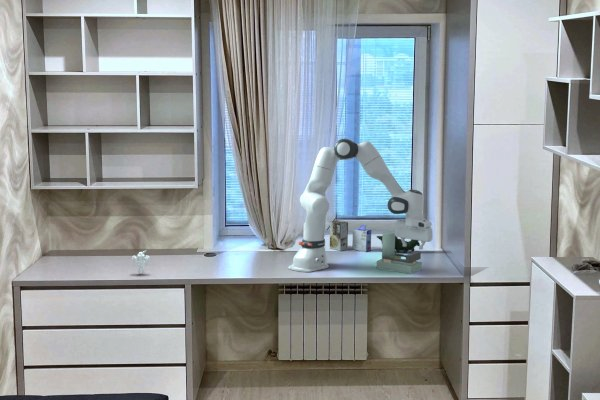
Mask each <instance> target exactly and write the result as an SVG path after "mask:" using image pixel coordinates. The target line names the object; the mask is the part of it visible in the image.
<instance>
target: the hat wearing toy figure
mask: <svg viewBox="0 0 600 400" xmlns="http://www.w3.org/2000/svg"><path fill="white" fill-rule="evenodd" d="M146 252H147V249H145V250H142V251H140V252H138V253H137V255H132V257H131V261H134V262H133V264H132V267H133V268H134V267H135V266H136V264H137V273H136V274H137V275H141V274H142V275H145V274H146V270H145V267H146V268H149V266H150V264H149V262H148V261H150V256H149V255H145V253H146Z"/></svg>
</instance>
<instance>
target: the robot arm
mask: <svg viewBox="0 0 600 400" xmlns="http://www.w3.org/2000/svg"><path fill="white" fill-rule="evenodd" d="M352 159H356V160H357V161H358V162H359V163H360V165H361V167H362V168H363V170H364V172H365V173H366V174H367V175H368V176H369V177H370V178H371V179H374V180H378V181H379V182H381V183H382V184H383V185H384V186H385V188H386V189H387V191H388V192H389V194H390V195H391V197H390V198H389V199H388V201H387V210H388V211H389V212H390V213H391V214H394V215H401V214H405V219H397V220H396V221H395V228H394V229H395V230H394V233H395V236H396V237H397V238H399V239H401V241H402V243H403V247H406V246H407V243H405V241H406V239H408V240H411V239H412V240H418V242H420V243H421V244H420V246H418V250H423V249H424V246H425V244H426V243H429V242H431V241H432V240H433V237H434V236H433V235H434V234H433V228H432V227H431V226H432V225H433V224H432V221H430V220H428V219H426V218H424V214H423V210H424V201H425V200H424V194H423V193H422V192H421V191H420V190H417V189H408V190H407V191H405V190H403V188H402V187H401V186H400V184H399V183H398V181H397V180H396V179H395V177H394V176H393V174H392V173H391V171H390V170H389V168H388V166H387V164H386V162H385V160H384V158H383V156H381V154H380V152H379V150H378V149H377V148H376V147H375V146H374V145H373V143H372V142H370V141H362V142H360V143H356V142H355V141H353V140H352V139H350V138H340V139H339V140H337V141H336V142H335V143H334V146H333V147H331V146H323V147H322V148H320V150H319V151H318V154H317V156H316V158H315V162H314V164H313V168H312V170H311V171H312V172H311V175H310V178H309V180H308V182H307V185H306V187H305V189H304V190H303V193H302V194H300V197H299V203H300V206H301V208H303V209H304V210H305V212H306V216H305V220H304V222H303V230H302V231H303V235H302V236H303V238H302V240H299V241H298V243H297V244H298V246H301V247H300V248H299V249H298V250H297V252H296V254H295V255H294V256H293V259H292V264H291V265H290V264H289V265H288V268H287V269H289V270H292V271H296V272H304V273H311V272H314V271H320V270H324V269H328V268H329V264H328V259H327V257H328V256H327V251H326V248H325V246H326V240H325V224H326V219H327V214H328V212H329V209H330V202H329V201H328V199H327V198H326V196H324V195H325V193H326V192H327V190H328V189H329V187H330V186H331V184H332V181H333V176H334V174H335V170H336V166H337V164H338V163H339V161H342V160H343V161H348V160H352Z"/></svg>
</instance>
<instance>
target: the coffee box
mask: <svg viewBox="0 0 600 400" xmlns="http://www.w3.org/2000/svg"><path fill="white" fill-rule="evenodd" d="M348 238H349V222H348V221H344V220H338V219H337V220H331V221H329V249H330V250H335V251H340V252H342V251H347V250H348V245H349V244H348V243H349V242H348Z"/></svg>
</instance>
